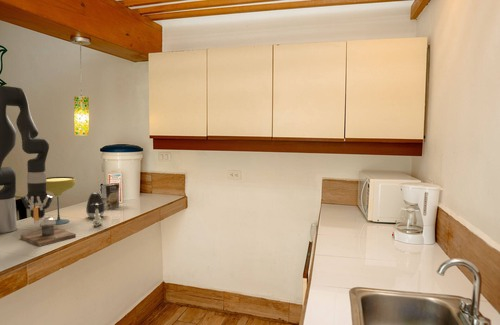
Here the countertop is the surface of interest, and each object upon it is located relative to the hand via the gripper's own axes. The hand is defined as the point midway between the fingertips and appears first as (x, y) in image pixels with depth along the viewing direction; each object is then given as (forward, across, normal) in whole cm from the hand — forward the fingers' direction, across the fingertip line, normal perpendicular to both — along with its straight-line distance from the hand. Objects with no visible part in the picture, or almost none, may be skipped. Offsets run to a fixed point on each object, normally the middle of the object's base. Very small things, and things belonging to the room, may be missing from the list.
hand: (37, 217), depth 164 cm
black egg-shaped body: (+12, +12, +45) cm, 48 cm away
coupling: (+6, +1, +4) cm, 7 cm away
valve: (+12, +18, +28) cm, 35 cm away
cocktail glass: (+13, -5, +35) cm, 37 cm away
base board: (+12, +2, +7) cm, 14 cm away
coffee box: (+12, +15, +68) cm, 71 cm away
